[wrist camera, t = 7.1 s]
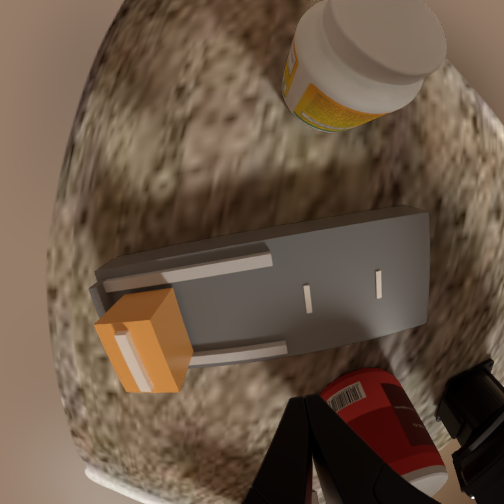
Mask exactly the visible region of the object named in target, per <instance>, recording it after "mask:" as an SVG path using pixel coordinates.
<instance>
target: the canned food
mask: <svg viewBox="0 0 504 504" xmlns="http://www.w3.org/2000/svg"><path fill="white" fill-rule="evenodd" d="M319 395H320V396H321V397H322V398H323V399H324V400H325V401H326V402H327V403H328V404H329V405H330V407H331V408H332V409H333V410H334V411H335V412H336V413H337V414H338V415H339V416H340V417H341V418H342V419H343V420H344V421H345V422H346V423H347V424H348V425H349V426H350V427H351V428H352V429H353V430H354V431H355V432H356V433H357V434H358V435H359V436H360V437H361V438H362V439H363V440H364V441H365V442H366V443H367V444H368V445H369V446H370V447H371V448H372V449H373V450H374V451H375V452H376V453H377V454H378V455H379V456H380V457H381V458H382V459H383V460H384V463H385V462H386V463H387V464H388V465H389V466H390V467H392V468H393V469H394V470H395V471H396V472H397V473H398V474H399V475H400V476H402V477H403V478H404V479H405V480H406V481H408V482H409V483H411V484H412V485H413V486H415V487H416V488H418V489H419V490H420V491H422V492H424V493H425V494H427V495H428V496H430V497H431V496H433V495H434V494H435V493H436V492H437V491H438V490H439V489H440V488H441V487H442V486H443V485H444V484H445V482H446V481H447V479H448V473H447V471H446V467H445V465H444V463H443V461H442V459H441V456H440V454H439V452H438V450H437V448H436V446H435V444H434V443H433V441H432V439H431V437H430V435H429V433H428V431H427V430H426V428H425V426H424V424H423V422H422V421H421V419H420V417H419V415H418V413H417V412H416V410H415V408H414V406H413V405H412V403H411V401H410V400H409V398H408V396H407V394H406V393H405V391H404V389H403V388H402V386H401V384H400V383H399V381H398V380H397V379H396V377H395V376H393V375H392V374H390V373H389V372H387V371H385V370H384V369H380V368H363V369H359V370H355V371H352V372H350V373H347V374H345V375H343V376H341V377H339V378H337V379H336V380H334V381H333V382H332V383H330V384H329V385H328V386H327V387H326V388H325V389H324V390H323V391H322V392H321V393H320V394H319Z"/></svg>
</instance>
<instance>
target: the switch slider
mask: <svg viewBox="0 0 504 504" xmlns="http://www.w3.org/2000/svg"><path fill="white" fill-rule="evenodd" d="M94 326H95V328H96V331H97V333H98V335H99V338H100V340H101V342H102V344H103V346H104V349H105V351H106V353H107V355H108V357H109V359H110V361H111V363H112V365H113V367H114V369H115V371H116V373H117V375H118V377H119V379H120V381H121V383H122V385H123V386H124V388H125V390H126V392H149V393H163V392H180V389H181V387H182V384H183V381H184V378H185V375H186V372H187V369H188V366H189V363H190V360H191V357H192V355H193V352H194V351H193V348H192V345H191V343H190V340H189V337H188V334H187V331H186V328H185V325H184V322H183V318H182V315H181V312H180V309H179V306H178V302H177V299H176V296H175V293H174V289H173V288H166V289H159V290H153V291H146V292H139V293H132V294H125V295H123V296H122V297H121V298H120V299H119V300H118V301H117V302H116V303H115V304H114V305H113V306H112V307H111V308H110V309H109V310H108V311H107V312H106V313H105V314H104V315H103V316H102V317H101V318H100V319H99V320H98V321H97V322H96V323H95V324H94Z"/></svg>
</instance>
